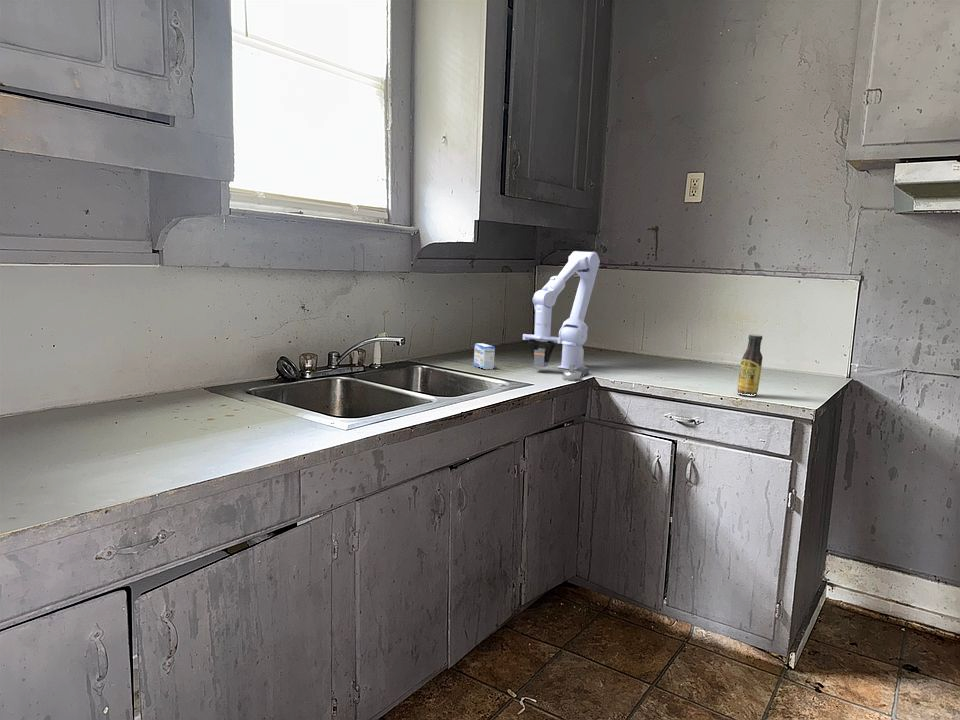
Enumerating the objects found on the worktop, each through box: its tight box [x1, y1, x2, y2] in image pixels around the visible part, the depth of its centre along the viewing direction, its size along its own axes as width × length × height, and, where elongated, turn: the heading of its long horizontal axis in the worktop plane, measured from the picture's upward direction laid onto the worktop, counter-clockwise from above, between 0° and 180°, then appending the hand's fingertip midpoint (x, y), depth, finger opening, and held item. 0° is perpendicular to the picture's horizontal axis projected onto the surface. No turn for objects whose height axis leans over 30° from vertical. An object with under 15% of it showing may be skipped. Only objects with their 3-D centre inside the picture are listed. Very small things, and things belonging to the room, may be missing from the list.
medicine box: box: [473, 342, 496, 370], centre depth 244 cm, size 8×4×9 cm, turn 28°
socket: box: [533, 347, 549, 368], centre depth 240 cm, size 4×4×6 cm
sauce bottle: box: [736, 333, 763, 395], centre depth 213 cm, size 7×6×20 cm
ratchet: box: [562, 365, 590, 382], centre depth 234 cm, size 18×6×5 cm, turn 153°
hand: (541, 361), depth 241 cm, fingers closed on socket, 4 cm apart
